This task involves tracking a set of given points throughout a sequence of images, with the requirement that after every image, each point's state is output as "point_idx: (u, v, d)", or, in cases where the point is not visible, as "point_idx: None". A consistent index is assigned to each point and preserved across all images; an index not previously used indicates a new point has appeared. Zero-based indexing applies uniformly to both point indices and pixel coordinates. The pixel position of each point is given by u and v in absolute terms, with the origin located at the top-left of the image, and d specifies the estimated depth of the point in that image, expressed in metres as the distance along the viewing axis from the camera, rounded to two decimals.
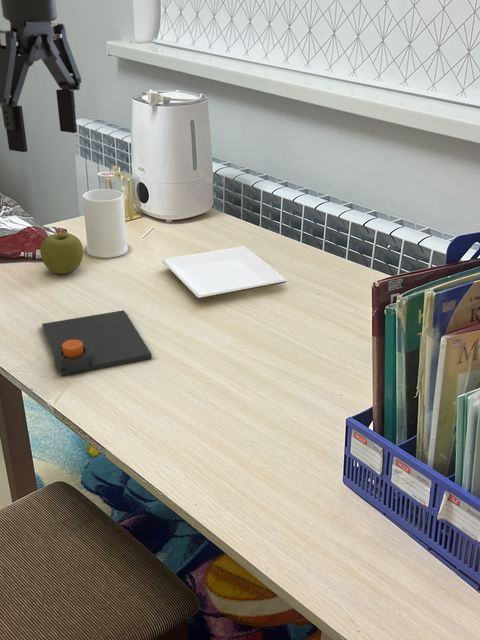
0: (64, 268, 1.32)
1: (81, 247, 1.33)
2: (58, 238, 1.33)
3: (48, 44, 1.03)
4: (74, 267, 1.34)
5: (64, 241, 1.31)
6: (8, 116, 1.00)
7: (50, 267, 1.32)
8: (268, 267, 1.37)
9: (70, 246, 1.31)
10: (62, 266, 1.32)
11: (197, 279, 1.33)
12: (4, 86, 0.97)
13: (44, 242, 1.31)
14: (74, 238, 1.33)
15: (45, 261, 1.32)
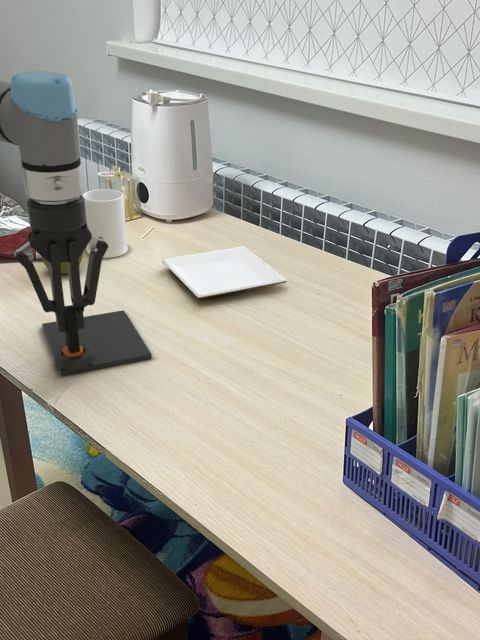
0: (64, 268, 1.32)
1: None
2: None
3: (68, 248, 0.95)
4: None
5: None
6: None
7: None
8: (268, 267, 1.37)
9: None
10: (62, 266, 1.32)
11: (197, 279, 1.33)
12: (39, 299, 0.98)
13: None
14: None
15: (45, 261, 1.32)
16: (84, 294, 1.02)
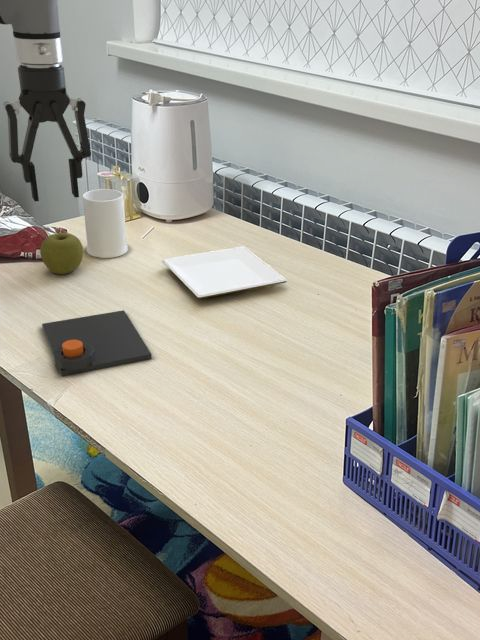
0: (64, 268, 1.32)
1: (81, 247, 1.33)
2: (58, 238, 1.33)
3: (52, 109, 1.19)
4: (74, 267, 1.34)
5: (64, 241, 1.31)
6: (23, 172, 1.24)
7: (50, 267, 1.32)
8: (268, 267, 1.37)
9: (70, 246, 1.31)
10: (62, 266, 1.32)
11: (197, 279, 1.33)
12: (11, 149, 1.20)
13: (44, 242, 1.31)
14: (74, 238, 1.33)
15: (45, 261, 1.32)
16: (82, 149, 1.27)
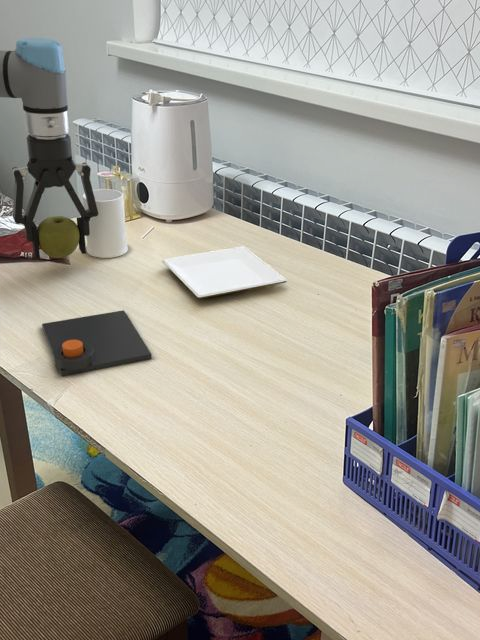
0: (60, 252, 1.31)
1: (78, 231, 1.32)
2: (54, 221, 1.31)
3: (59, 176, 1.25)
4: (70, 251, 1.32)
5: (60, 224, 1.29)
6: (26, 231, 1.29)
7: (46, 250, 1.31)
8: (268, 267, 1.37)
9: (66, 229, 1.29)
10: (58, 250, 1.30)
11: (197, 279, 1.33)
12: (15, 211, 1.26)
13: (40, 225, 1.30)
14: (71, 221, 1.31)
15: (41, 244, 1.30)
16: (90, 208, 1.33)
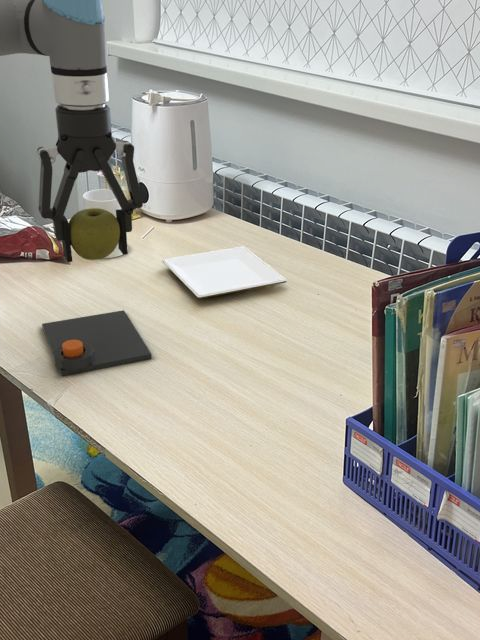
0: (97, 253, 1.05)
1: (118, 226, 1.06)
2: (89, 215, 1.06)
3: (96, 157, 1.00)
4: (109, 251, 1.07)
5: (97, 218, 1.04)
6: (55, 228, 1.04)
7: (80, 251, 1.05)
8: (268, 267, 1.37)
9: (105, 224, 1.04)
10: (95, 250, 1.05)
11: (197, 279, 1.33)
12: (41, 202, 1.00)
13: (72, 219, 1.04)
14: (109, 214, 1.06)
15: (73, 243, 1.05)
16: (132, 198, 1.08)
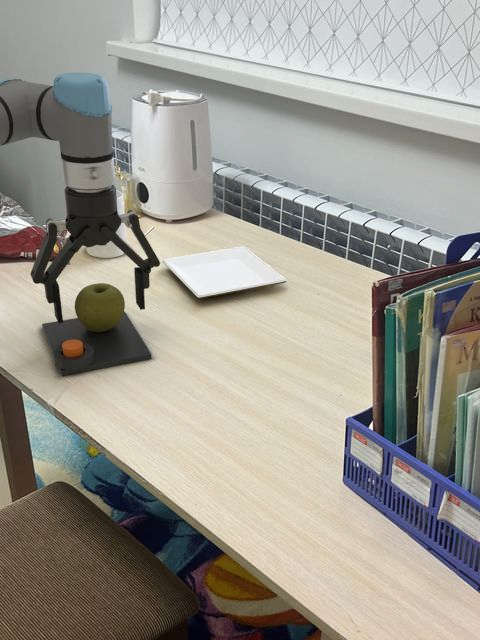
0: (103, 327, 1.11)
1: (123, 301, 1.13)
2: (96, 290, 1.12)
3: (104, 234, 1.06)
4: (114, 324, 1.13)
5: (103, 295, 1.10)
6: None
7: (86, 325, 1.12)
8: (268, 267, 1.37)
9: (110, 300, 1.10)
10: (101, 324, 1.11)
11: (197, 279, 1.33)
12: (37, 269, 1.04)
13: (80, 296, 1.10)
14: (115, 290, 1.12)
15: (81, 318, 1.11)
16: None
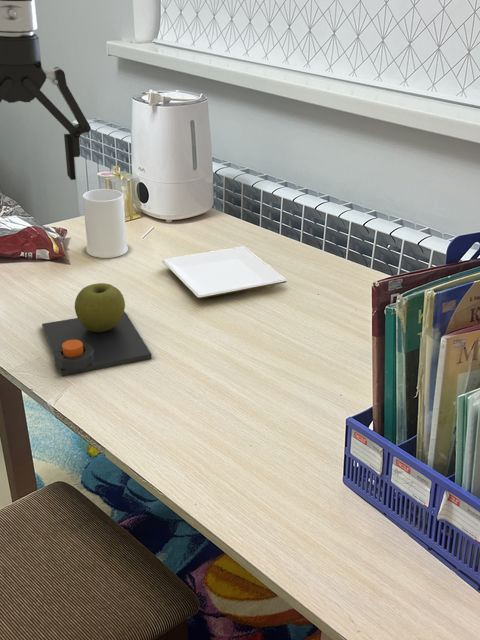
0: (103, 327, 1.11)
1: (123, 301, 1.13)
2: (96, 290, 1.12)
3: (26, 88, 1.00)
4: (114, 324, 1.13)
5: (103, 295, 1.10)
6: None
7: (86, 325, 1.12)
8: (268, 267, 1.37)
9: (110, 300, 1.10)
10: (101, 324, 1.11)
11: (197, 279, 1.33)
12: None
13: (80, 296, 1.10)
14: (115, 290, 1.12)
15: (81, 318, 1.11)
16: None
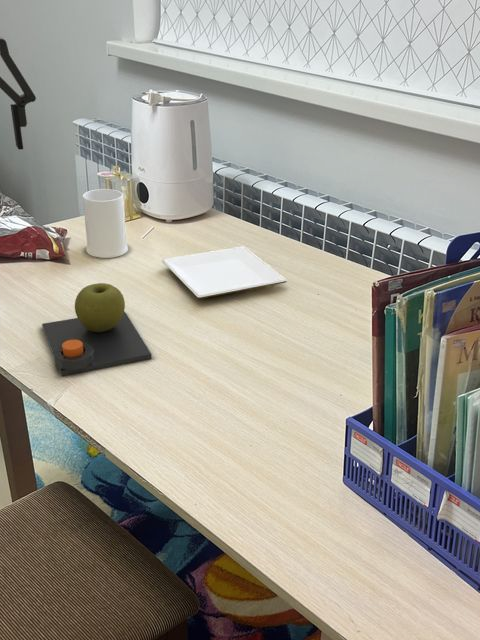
0: (103, 327, 1.11)
1: (123, 301, 1.13)
2: (96, 290, 1.12)
3: None
4: (114, 324, 1.13)
5: (103, 295, 1.10)
6: None
7: (86, 325, 1.12)
8: (268, 267, 1.37)
9: (110, 300, 1.10)
10: (101, 324, 1.11)
11: (197, 279, 1.33)
12: None
13: (80, 296, 1.10)
14: (115, 290, 1.12)
15: (81, 318, 1.11)
16: None
